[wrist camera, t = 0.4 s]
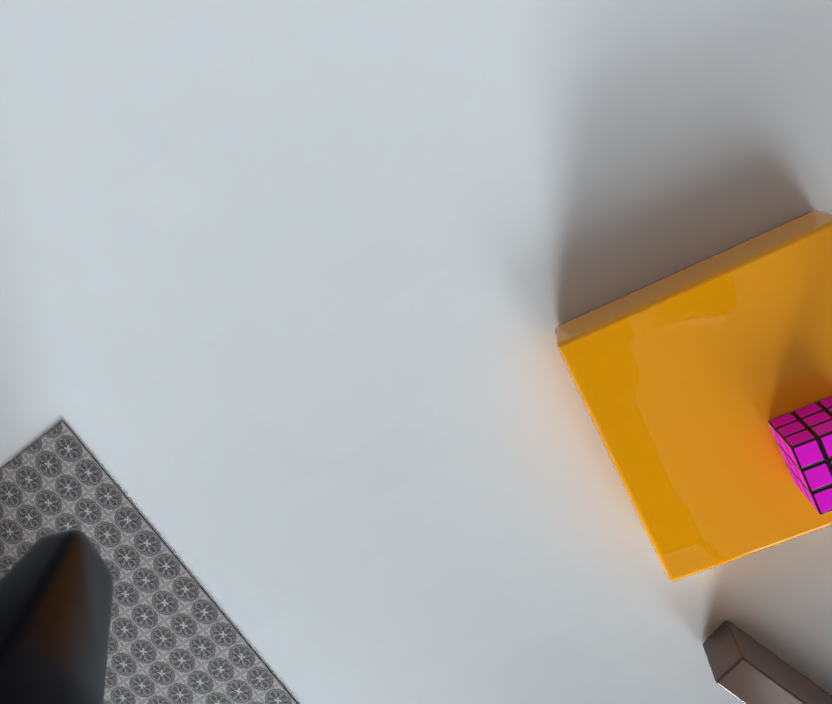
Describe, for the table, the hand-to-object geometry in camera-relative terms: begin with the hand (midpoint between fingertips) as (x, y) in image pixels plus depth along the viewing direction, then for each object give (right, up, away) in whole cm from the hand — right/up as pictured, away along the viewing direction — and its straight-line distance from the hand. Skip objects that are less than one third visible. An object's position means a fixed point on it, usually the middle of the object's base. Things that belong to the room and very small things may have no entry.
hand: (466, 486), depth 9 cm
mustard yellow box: (+9, 0, +15) cm, 17 cm away
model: (-17, -15, +23) cm, 32 cm away
